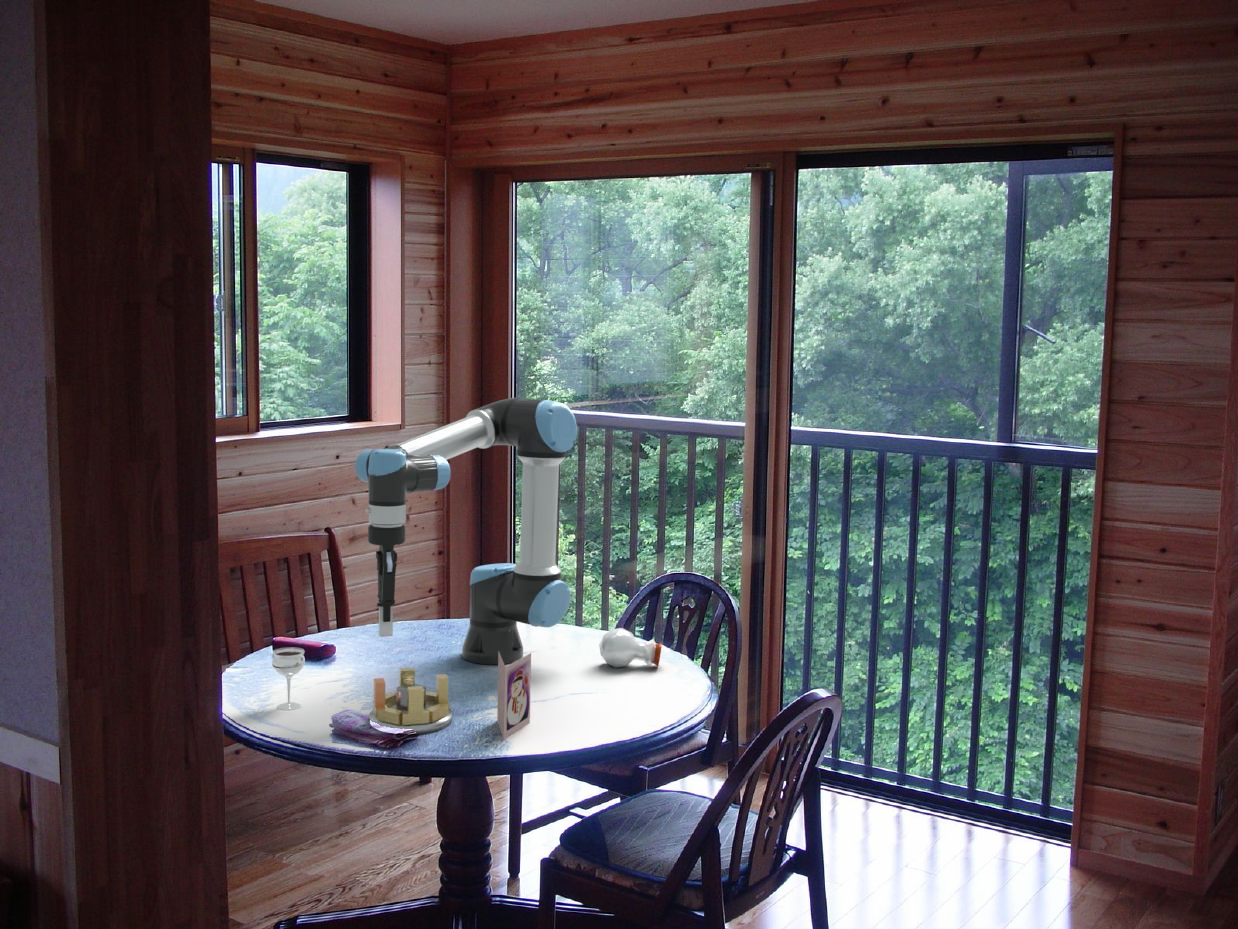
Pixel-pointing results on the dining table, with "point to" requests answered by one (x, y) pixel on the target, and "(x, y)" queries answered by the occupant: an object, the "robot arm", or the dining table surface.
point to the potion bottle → (628, 649)
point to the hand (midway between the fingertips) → (385, 635)
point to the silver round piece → (402, 705)
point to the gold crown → (411, 701)
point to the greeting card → (513, 695)
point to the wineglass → (288, 669)
